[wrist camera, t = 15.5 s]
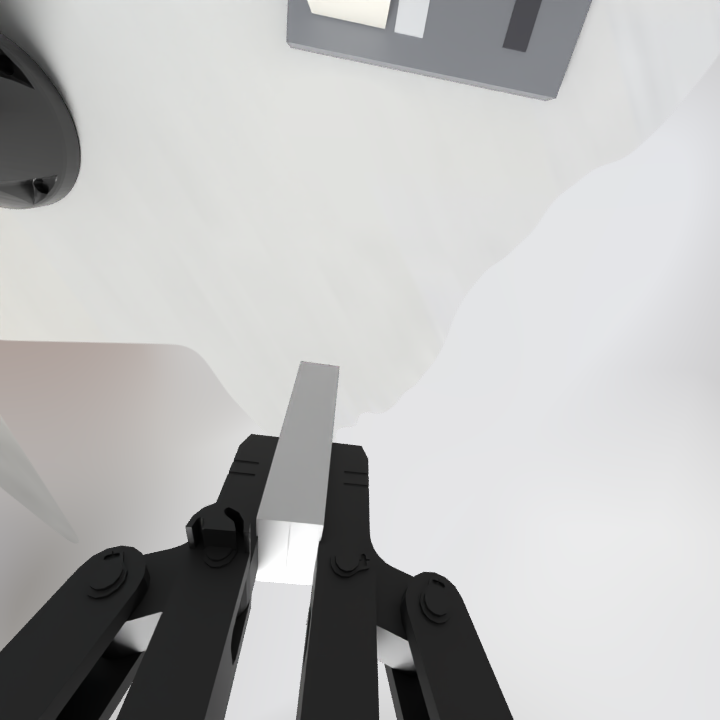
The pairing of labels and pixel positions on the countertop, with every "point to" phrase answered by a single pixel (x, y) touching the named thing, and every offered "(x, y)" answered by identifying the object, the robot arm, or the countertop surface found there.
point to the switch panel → (456, 40)
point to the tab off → (353, 10)
